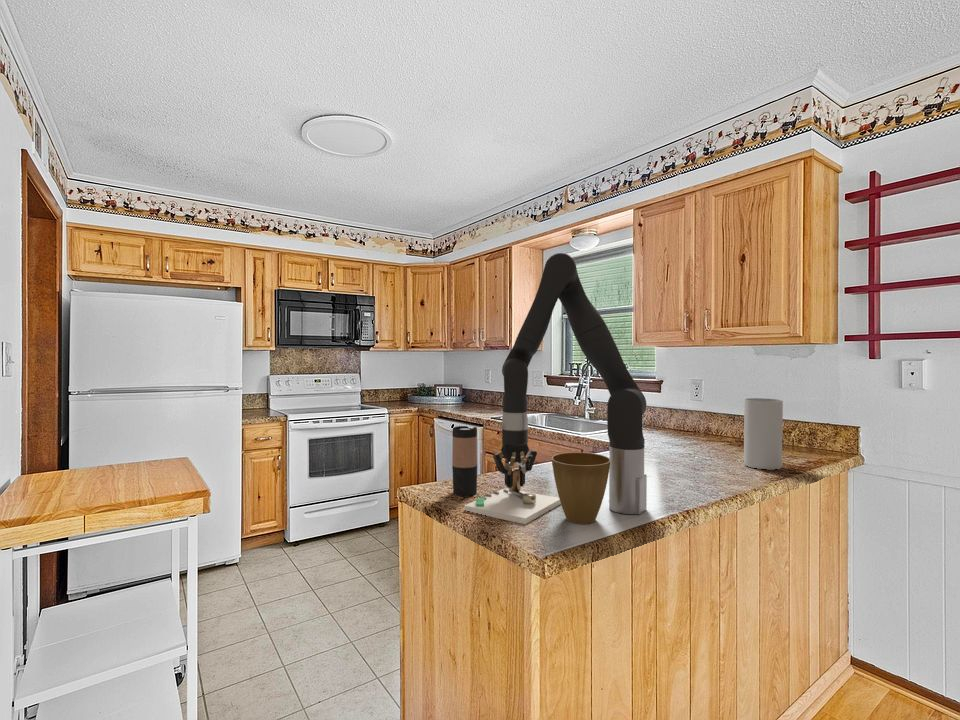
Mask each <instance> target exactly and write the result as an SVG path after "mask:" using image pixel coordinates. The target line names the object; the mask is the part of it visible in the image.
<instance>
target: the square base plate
mask: <svg viewBox="0 0 960 720" xmlns="http://www.w3.org/2000/svg"><path fill="white" fill-rule="evenodd" d="M519 492H521V493H523V494H525V493H530V492H528V491H523V490H522V491H519ZM531 493H532V494H535V495H536V503H535V504H525V503H523V500H522V499H521V498H519V497H517V496H516V495H514V494H512V493H511V492H509V488H508V487H506V488H505V487H504V488H503V489H500V490H493V491H492V493H491V494H490V493H484V496H478V497H477V498H476V500H474V501H471V502H470V503H466V504H465V505H464V504H463V505H464V510H466V511H465V512H467V511H470V512H469V513H472V512H474V513H473V514H476V513H478V515H481V514H482V515H481V516H485V515H486V516H485V517H490V518H494V519H500V520H505V521H507V522H508V521H509V522H512V523H513V522H514V523H518V524H523V525H527V524H529V523H531V522H532V521H534V520H535V519H538V518H539V517H540V516H542V515H545V514H546V513H548V512H550V511H551V510H553V509H554V508H557V507H558V506H560V505H561V502H560V499H559V497H556V496H551V495H546V494H540V493H534V492H531ZM549 510H550V511H549Z"/></svg>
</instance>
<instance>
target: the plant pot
mask: <svg viewBox="0 0 960 720" xmlns="http://www.w3.org/2000/svg"><path fill="white" fill-rule="evenodd" d="M610 461H611V460H610V459H609V457H608V456H605V455H603V454H598V453H593V452H583V451H581V452H579V451H577V452H576V451H575V452H574V451H573V452H571V451H570V452H563V453H557V454H554V455H552V456H551V464H552V472H553V476H554V477H553V478H554V482H555V486H556V490H557V496H558V498H559V499H560V502H561V504H560V505H561V508H562V512H563V514H564V516H565V519H566V520H567V521H568V522H570V523H573V524H576V523H578V524H577V525H587V524H586V523H590V524H592V522H593V523H594V522H595V521H596V519H597V518H598V517H597V516H598V515H599V512H600V509H601V506H602V503H603V500H604V496H605V494H606V493H605V492H606V489H607V485H608V481H609V468H610Z"/></svg>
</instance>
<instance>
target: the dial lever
mask: <svg viewBox="0 0 960 720" xmlns="http://www.w3.org/2000/svg"><path fill="white" fill-rule="evenodd" d="M511 475H512V488H508V489H509V492H511V493H512V494H514V495H516V496H517V497H519V498H521V499H522V500H523V503H525V504H535V503H536V495H535V494H536V493H535V494H532V493H533V492H529V493H525V494H523V493H521V492H519V491H521V470H520V469H518V468H514V467H513V468H512V472H511Z"/></svg>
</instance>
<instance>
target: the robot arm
mask: <svg viewBox="0 0 960 720" xmlns="http://www.w3.org/2000/svg"><path fill="white" fill-rule="evenodd" d="M558 300H559V302H560V303H561V305H562V307H563V309H564V311H565V313H566V317H567V319H568V322H569V325H570V328H571V330H572V333H573V335H574V338H575V339H576V341H577V344H578V346H579V348H580V350H581V352H582V354H583V355H584V356H585V358H586V360H588V362H589V363H590V364H591V366H592V367H593V368H594V369H595V371H597V373H598V374H599V375H600V377H601V378H602V380H603V382H604V384H605V386H606V387H607V391H608V393H609V394H610V396H609V398H608V401H607V404H606V405H607V407H606V413H607V414H606V418H607V419H606V421H607V422H606V424H607V428H606V429H607V437H608V439H609V440H608V441H609V442H608V443H609V446H608V447H609V448H608V449H609V454H608V455H609V457H608V458H609V459H610V460H611V461H610V468H609V474H608V481H609V483H608V484H609V485H608V486H609V487H608V494H609V495H608V496H609V499H608V505H609V506H608V507H609V510H610V511H612V512H614V513H618V514H624V515H638V514H639V515H642V514H643V513H644V512H645V511H646V510H647V500H648V499H647V497H648V496H647V495H648V494H647V487H648V486H647V483H648V482H647V479H648V477H647V476H648V475H647V474H645V436H644V433H643V415H644V414H645V413H646V410H647V400H646V397H645V395H644V394H643V391H642V390H641V389H640V387H639V386H638V384H637V383H636V381H635V379H634V378H633V376H632V375H631V373H630V372H629V370H628V368H627V366H626V365H625V362H624V360H623V357H622V355H621V352H620V351H619V348H618V346H617V344H616V341H615V340H614V338H613V335H612V333H611V332H610V329H609V328H608V325H607V324H606V322H605V320H604V319H603V317H602V316H601V314H600V312H599V311H598V310H597V308H596V307H595V306H594V305H593V304H592V302H591V301H590V299H589V297H588V296H587V294H586V292H585V289H584V287H583V284H582V282H581V279H580V276H579V273H578V269H577V265H576V262H575V260H574V258H573V257H572V256H570V255H569V254H567V253H564V252H558V253H557V252H556V253H554V254H552V255H551V256H550V257H549V258H547V260H546V261H545V264H544V268H543V272H542V275H541V278H540V282H539V285H538V289H537V291H536V294H535V297H534V300H533V301H532V304H531V306H530V308H529V310H528V313H527V315H526V317H525V318H524V321H523V324H522V325H521V327H520V329H519V331H518V333H517V336H516V338H515V341H514V344H513V346H512V347H511V349H510V351H509V352H508V355H507V357H506V359H505V360H504V362H503V365H502V367H501V373H502V377H503V396H502V417H501V444H502V446H501V449H500V451H499V452H496V453H495V452H494V453H493V454H492V458H493V460H494V463H495V465H496V468H497V470H498V472H499V473H501V474H503V475H504V485H505V486H506V488H507V489H509V488H512V475H511V472H512V469H513V468H514V465H515V464H516V465H517V469H520V470H521V487H524V486H525V484H526V473H527V472H531V471H532V469H533V467H534V464H535V461H536V457H537V455H538V452H537V451H536V450H533V449H530V448H529V445H528V443H529V417H528V399H527V392H528V384H529V369H528V367H529V365H530V363H531V362H532V361H531V360H532V359H533V357H534V355H535V354H536V353H537V352H538V350H539V349H540V346H541V344H542V343H543V340H544V337H545V335H546V334H547V333H546V332H547V330H548V327H549V324H550V322H551V318H552V315H553V312H554V310H555V306H556V304H557V302H558ZM503 457H504V463H503V461H502V460H503ZM526 457H527V458H526ZM525 458H526V459H525Z"/></svg>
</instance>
